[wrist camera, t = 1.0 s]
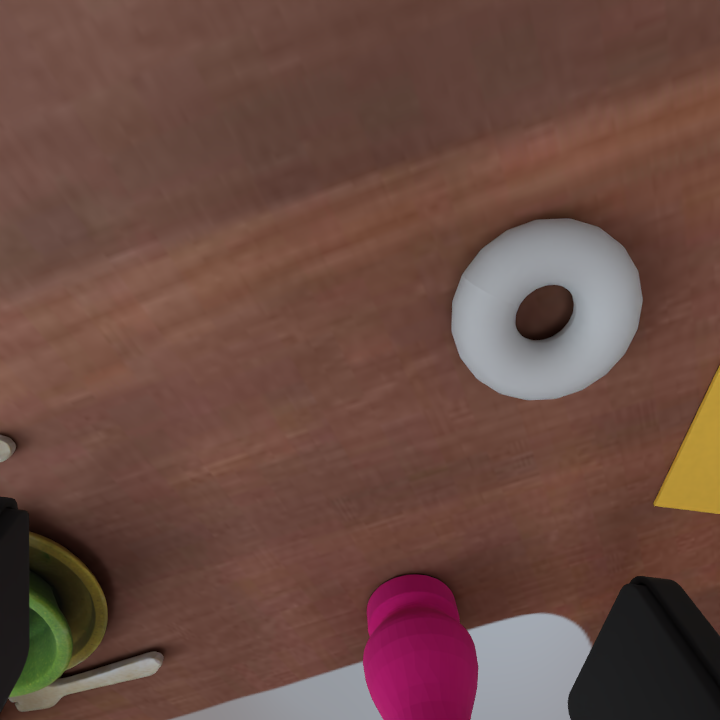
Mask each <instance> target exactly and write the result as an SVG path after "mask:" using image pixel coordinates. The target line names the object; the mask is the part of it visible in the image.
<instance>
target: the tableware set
mask: <svg viewBox="0 0 720 720" xmlns="http://www.w3.org/2000/svg"><path fill="white" fill-rule="evenodd" d="M15 449H16V445H15V443H14V442H13V440H12V439H11V438H9V437H6V436H2V435H0V462H2V461H5V460H6V459H8V458H9V457H10V456H11V455H12V454H13V453H14V452H15ZM107 622H108V608H107V603H106V599H105V596H104V593H103V591H102V589H101V587H100V585H99V583H98V581H97V579H96V578H95V576H94V575H93V573H92V572H91V571H90V570H89V569H88V568H87V567H86V565H85V564H84V563H83V562H82V561H81V560H80V559H79V558H78V557H76V556H75V555H74V554H73V553H71V552H70V551H69V550H68V549H66V548H65V547H63V546H62V545H60V544H58V543H56V542H54V541H53V540H51V539H49V538H46V537H44V536H42V535H39V534H36V533H33V532H30V531H29V639H30V644H29V652H28V656H27V660H26V663H25V666H24V668H23V671H22V673H21V675H20V677H19V679H18V681H17V683H16V684H15V686H14V688H13V690H12V692H11V694H10V696H9V698H8V699H9V700H10V701H11V702H16V703H15V706H16V708H17V709H18V710H19V711H21V712H25V711H31V710H38V709H45V708H50V707H52V706H54V705H55V704H56V703H57V702H58V701H59V700H60V699H61V697H63V696H65V695H68V694H72V693H76V692H81V691H85V690H89V689H93V688H98V687H102V686H106V685H112V684H116V683H119V682H124V681H129V680H133V679H137V678H142V677H146V676H150V675H152V674H154V673H156V671H157V670H158V669H159V668H160V666H161V665H162V663H163V660H164V656H163V655H162V654H161V653H159V652H156V651H154V652H148V653H145V654H142V655H139V656H136V657H133V658H129V659H126V660H122V661H119V662H116V663H113V664H110V665H107V666H103V667H100V668H97V669H94V670H90V671H87V672H84V673H80V674H77V675H74V676H70V677H66V678H59V677H60V676H61V675H62V674H63V672H64V671H65V670H68V669H70V668H72V667H74V666H76V665H77V664H79V663H81V662H82V661H83V660H85V659H86V658H87V657H89V656H90V655H91V654H92V653H93V652H94V650H95V649H96V648H97V647H98V645H99V644H100V642H101V641H102V639H103V637H104V634H105V631H106V628H107ZM58 678H59V679H58Z"/></svg>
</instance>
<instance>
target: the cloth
mask: <svg viewBox="0 0 720 720" xmlns="http://www.w3.org/2000/svg"><path fill="white" fill-rule="evenodd" d="M653 504H654V506H659V507H668V508H676V509H684V510H692V511H700V512H708V513H716V514H720V366H719V368H718V370H717V372H716V374H715V376H714V378H713V380H712V382H711V384H710V386H709V389H708V391H707V393H706V395H705V397H704V399H703V401H702V403H701V405H700V407H699V409H698V412H697V414H696V416H695V418H694V420H693V422H692V424H691V426H690V428H689V430H688V432H687V435H686V437H685V439H684V441H683V443H682V445H681V447H680V449H679V451H678V453H677V455H676V457H675V460H674V462H673V464H672V466H671V468H670V470H669V472H668V474H667V476H666V478H665V480H664V483H663V485H662V487H661V489H660V491H659V493H658V495H657V497H656V499H655V501H654V503H653Z"/></svg>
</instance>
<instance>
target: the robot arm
mask: <svg viewBox="0 0 720 720" xmlns="http://www.w3.org/2000/svg"><path fill="white" fill-rule="evenodd" d="M29 644H30V639H29V514H28V512H27V511H25V510H18V507H17V502H16V500H15V499H13V498H7V497H0V713H1V711H2V709H3V707H4V705H5V703H6V701H7V699H8V698H9V696H10V694H11V692H12V690H13V688H14V686H15V684H16V683H17V681H18V679H19V677H20V675H21V673H22V671H23V668H24V666H25V663H26V660H27V656H28V652H29ZM568 709H569V715H570V718H571V720H720V636H719V635H718V633H717V632H716V631H715V630H714V628H713V627H712V626H711V624H710V623H709V622H708V621H707V619H706V618H705V617H704V616H703V614H702V613H701V612H700V610H699V609H698V608H697V607H696V605H695V604H694V603H693V601H692V600H691V599H690V598H689V596H688V595H687V594H686V592H685V591H684V590H683V589H682V587H681V586H680V585H679V584H678V583H677V582H675V581H672V580H669V579H661V578H653V577H645V576H637V577H635V578H633V579H632V580H631V582H630V583H629V584H626V585H624V586H623V587H622V589H621V590H620V592H619V595H618V597H617V599H616V601H615V603H614V605H613V607H612V609H611V611H610V613H609V615H608V617H607V619H606V621H605V623H604V625H603V627H602V629H601V631H600V633H599V635H598V637H597V639H596V641H595V643H594V645H593V647H592V649H591V651H590V653H589V655H588V657H587V659H586V661H585V663H584V665H583V667H582V669H581V671H580V673H579V675H578V677H577V679H576V681H575V683H574V685H573V687H572V690H571V692H570V694H569V698H568Z"/></svg>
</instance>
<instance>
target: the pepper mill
mask: <svg viewBox="0 0 720 720" xmlns="http://www.w3.org/2000/svg"><path fill="white" fill-rule="evenodd" d="M367 619H368V631H369V635H370V638H369V640H368V642H367V644H366V647H365V650H364V656H363V666H364V672H365V678H366V683H367V686H368V689H369V692H370V694H371V697H372V700H373V701H374V703H375V705H376V707H377V709H378V711H379V713H380V714H381V716H382V718H383V719H384V720H470V719H471V713H472V709H473V705H474V700H475V695H476V690H477V680H478V663H477V656H476V650H475V646H474V643H473V640H472V638H471V636H470V634H469V633H468V631H467V630H466V629H465V628H464V626H462V625H461V624H460V619H459V614H458V610H457V606H456V602H455V598H454V595H453V593H452V592H451V590H450V589H449V588H448V587H447V586H446V585H445V584H444V583H443V582H441V581H440V580H438V579H436V578H433V577H430V576H427V575H419V574H413V575H404V576H400V577H396V578H393V579H391V580H389V581H387V582H385V583H384V584H382V585H380V586H379V587H378V588H377V589H376V591H375V592H374V593H373V594H372V596H371V598H370V599H369V602H368V605H367Z"/></svg>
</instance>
